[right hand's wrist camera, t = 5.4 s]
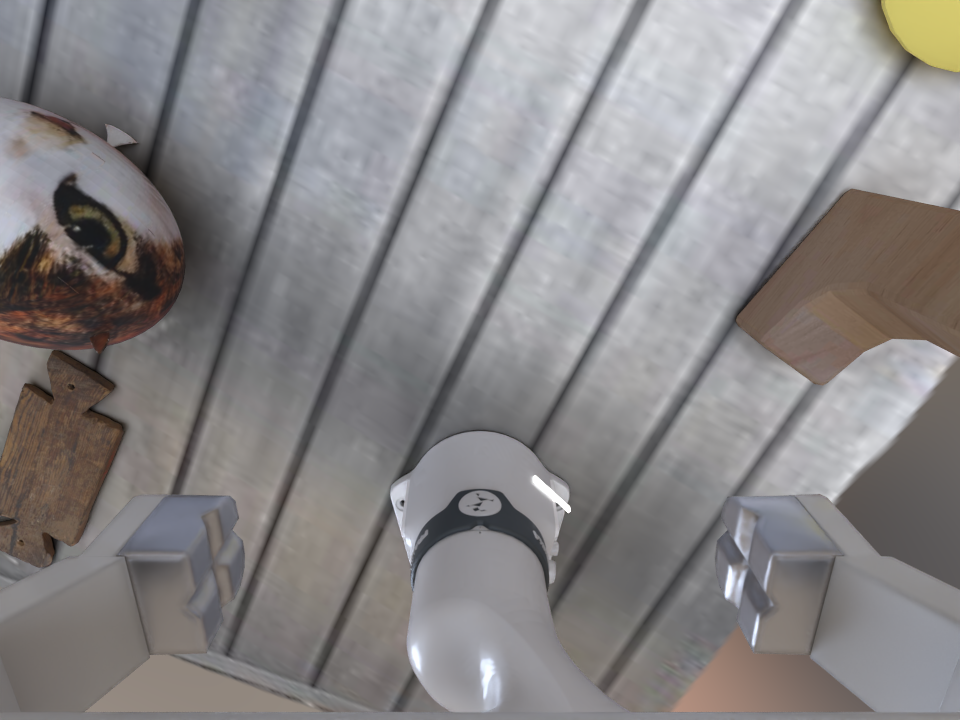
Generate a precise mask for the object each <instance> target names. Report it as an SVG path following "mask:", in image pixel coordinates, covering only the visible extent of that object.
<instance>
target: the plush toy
mask: <svg viewBox="0 0 960 720" xmlns="http://www.w3.org/2000/svg"><path fill="white" fill-rule="evenodd" d="M105 125H106V129H107V142H106V141H104V140H103V139H101V138H100V137H98V136H97V135H96V134H94V133H92V132H90V131H89V130H87V129H85V128H84V127H82V126H80V125H78V124H76V123H74V122H72V121H70V120H68V119H66V118H64V117H62V116H59V115H57V114H55V113H53V112H50V111H47V110H45V109H42V108H39V107H36V106H33V105H30V104H27V103H24V102H19V101H15V100H11V99H7V98H3V97H0V339H1V340H5V341H8V342H12V343H16V344H21V345H26V346H31V347H37V348H46V349H58V350H80V349H92V348H94V349H95V350H96V351H97V352H98V353H99V354H101V353H102V352H103V350H104V349H105V348H106V346H109V345H113V344H117V343H120V342H123V341H126V340H128V339H131V338H133V337H135V336H137V335H139V334H141V333H143V332H145V331H146V330H148V329H149V328H151V327H152V326H154V325H155V324H156V323H157V322H158V321H159V320H161V319H162V318H163V317H164V316H165V315H166V314H167V312H168V311H169V310H170V309H171V307H172V306H173V304H174V302H175V301H176V299H177V297H178V295H179V292H180V290H181V287H182V283H183V279H184V273H185V252H184V246H183V241H182V237H181V234H180V231H179V228H178V225H177V223H176V221H175V219H174V216H173V214H172V212H171V210H170V209H169V207H168V205H167V204H166V202H165V200H164V199H163V197H162V196H161V194H160V193H159V192H158V190H157V189H156V188H155V186H154V185H153V184H152V183H151V182H150V180H149V179H148V178H147V177H146V176H145V175H144V174H143V173H142V172H141V171H140V169H139V168H138V167H137V166H135V165H134V164H133V163H132V162H131V161H130V160H129V159H128V158H127V157H125V156H124V155H123V154H122V153H121V152H119V151H118V150H117V149H115V148H114V147H117V146H120V145H125V144H135V143H138V142H136V141H135V140H134V139H133V138H132V137H130V136H129V135H128V134H126V133H125V132H123V131H121V130H120V129H118V128H116V127H114V126H112V125H108V124H105Z"/></svg>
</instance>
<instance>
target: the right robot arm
mask: <svg viewBox="0 0 960 720" xmlns="http://www.w3.org/2000/svg"><path fill="white" fill-rule="evenodd" d="M569 496H570V490H569V486H568V484H567V483H566V482H565V481H563V480H562V479H560V478H559V477H557V476H555V475H554V474H552V473H550V472H549V471H548V470H547V469H546V468H545V467H544V466H543V464H542V463H541V462H540V460H539V459H538V458H537V456H536V455H535V454H534V453H533V452H532V451H531V450H530V449H529V448H528V447H526V446H525V445H524V444H522V443H521V442H519V441H517V440H516V439H514V438H511V437H509V436H506V435H503V434H500V433H495V432H489V431H472V432H465V433H460V434H457V435H454V436H451V437H449V438H446V439H444V440H443V441H441V442H439V443H438V444H436V445H435V446H434V447H432V448H431V449H430V450H429V451H428V452H427V453H426V454H425V455H424V456H423V458H422V459H421V460H420V462H419V463H418V465H417V466H416V467H415V468H414V469H413V470H412V471H411V472H410V473H408V474H406V475H405V476H403V477H401V478H400V479H398V480H397V481H395V482H394V483H393V484H392V486H391V491H390V497H391V500H392V504H393V507H394V510H395V514H396V517H397V521H398V524H399V527H400V531H401V535H402V538H403V541H404V544H405V548H406V551H407V555H408V558H409V561H410V565H411V567H410V570H411V586H412V591H413V598H412V605H411V612H410V620H409V627H408V634H407V651H408V657H409V660H410V663H411V666H412V668H413V671H414V673H415V674H416V676H417V678H418V679H419V681H420V682H421V684H422V685H423V687H424V688H425V690H426V691H427V692H428V693H429V695H430V696H431V697H432V698H433V699H434V700H435V701H436V702H437V703H439V704H440V705H441V706H443V707H444V708H446V709H447V710H449V711H451V712H85V711H86V710H87V709H89V708H90V707H91V706H92V705H93V704H95V703H96V702H97V701H98V700H99V699H101V698H102V697H103V696H104V695H105V694H107V693H108V692H109V691H110V690H111V689H113V688H114V687H115V686H116V685H118V684H119V683H120V682H121V681H122V680H124V679H125V678H126V677H127V676H129V675H130V674H131V673H132V672H133V671H135V670H136V669H137V668H138V667H139V666H141V665H142V664H143V663H144V662H145V661H147V660H148V659H149V658H150V655H163V654H198V653H207V651H208V649H209V647H210V645H211V643H212V641H213V639H214V638H215V636H216V634H217V632H218V630H219V628H220V626H221V624H222V622H223V614H222V609H221V608H222V607H223V606H225V605H226V604H228V603H229V602H230V601H232V600H233V599H234V598H235V596H236V594H237V592H238V590H239V588H240V586H241V581H242V577H243V572H244V566H245V553H244V546H243V541H242V539H241V538H240V537H239V536H238V535H237V534H236V533H235V532H234V531H233V530H232V529H233V527H234V526H235V524H236V522H237V520H238V519H239V516H238V512H237V507H236V502H235V500H234V499H233V498H232V497H230V496H209V495H167V494H164V495H139V496H135V497H133V498H132V499H131V500H130V501H129V502H128V503H127V505H126V506H125V507H124V508H123V509H122V510H121V511H120V512H119V513H118V514H117V515H116V517H115V518H114V519H113V520H112V521H111V522H110V523H109V524H108V525H107V526H106V528H105V529H104V530H103V531H102V532H101V533H100V534H99V535H98V536H97V537H96V539H95V540H94V541H93V542H92V543H91V544H90V545H89V546H88V547H87V548H86V549H85V551H84V552H83V553H82V554H81V555H80V556H69V557H67V558H65V559H63V560H61V561H59V562H57V563H55V564H53V565H51V566H48V567H46V568H44V569H42V570H40V571H38V572H36V573H34V574H32V575H30V576H28V577H26V578H24V579H22V580H20V581H18V582H16V583H14V584H11V585H9V586H7V587H5V588H3V589H1V590H0V720H960V590H959V589H956V588H954V587H952V586H950V585H948V584H946V583H944V582H942V581H940V580H938V579H936V578H934V577H932V576H930V575H928V574H926V573H924V572H922V571H920V570H918V569H916V568H913V567H911V566H909V565H907V564H905V563H903V562H901V561H899V560H897V559H895V558H893V557H890V556H880V555H879V554H878V553H877V552H876V551H875V549H874V548H873V547H872V546H871V545H870V544H869V543H868V542H867V541H866V540H865V539H864V537H863V536H862V535H861V534H860V533H859V532H858V531H857V530H856V529H855V528H854V526H853V525H852V524H851V523H850V522H849V521H848V520H847V519H846V518H845V517H844V515H843V514H842V513H841V512H840V511H839V510H838V509H837V508H836V507H835V506H834V504H833V503H832V502H831V501H830V500H829V499H828V498H827V497H825V496H822V495H820V494H809V495H789V496H745V497H727V499H726V501H725V503H724V505H723V511H722V516H721V519H722V520H723V522H724V524H725V526H726V527H727V529H728V530H727V531H726V532H725V533H724V534H723V535H722V536H721V537H720V538H719V539H718V541H717V547H716V555H715V562H716V574H717V578H718V581H719V585H720V588H721V590H722V592H723V594H724V596H725V598H726V599H727V600H728V601H730V602H731V603H732V604H734V605H735V606H737V607H738V608H739V609H738V614H737V622H738V624H739V626H740V628H741V630H742V632H743V634H744V635H745V637H746V639H747V641H748V643H749V645H750V647H751V649H752V651H753V653H761V654H798V655H810V658H811V659H812V660H814V661H815V662H816V663H817V664H818V665H820V666H821V667H822V668H823V669H825V670H826V671H827V672H828V673H829V674H831V675H832V676H833V677H834V678H835V679H837V680H838V681H839V682H840V683H841V684H843V685H844V686H845V687H846V688H847V689H849V690H850V691H851V692H852V693H853V694H855V695H856V696H857V697H858V698H860V699H861V700H862V701H863V702H864V703H866V704H867V705H868V706H869V707H870V708H872V709H873V710H874V711H875V712H630V711H628V710H627V709H625V708H623V707H622V706H621V705H619V704H618V703H616V702H615V701H614V700H612V699H611V698H610V697H608V696H607V695H606V694H605V693H604V692H602V691H601V690H600V689H599V688H598V687H597V686H596V685H594V684H593V683H592V682H591V681H590V680H589V679H588V678H587V677H586V676H585V675H584V674H583V672H582V671H581V670H580V669H579V668H578V667H577V666H576V665H575V663H574V662H573V661H572V660H571V658H570V657H569V656H568V654H567V653H566V651H565V650H564V648H563V647H562V645H561V643H560V641H559V639H558V636H557V633H556V630H555V627H554V623H553V619H552V615H551V611H550V606H549V601H548V596H547V591H548V586H549V584H552V583H554V581H555V576H556V563H555V561H553V560H551V558H552V556H557V555H558V551H559V543H558V542H556V541H557V538H558V535H559V531H560V528H561V524H562V521H563V517H564V514H565V511H567V512H568V513H569V512H570V511H571V510H570V506H569V505H567V504H568V500H569ZM402 500H405V501H404V503H403V502H401V501H402ZM556 502H557V503H556Z"/></svg>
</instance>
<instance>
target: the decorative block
mask: <svg viewBox="0 0 960 720" xmlns="http://www.w3.org/2000/svg"><path fill="white" fill-rule="evenodd" d="M736 322H737V324H738V326H739V327H740V328H742V329H743V330H744V331H745V332H746V333H748V334H749V335H750V336H751V337H752V338H754V339H755V340H756V341H757V342H758V343H760V344H761V345H762V346H763V347H765V348H766V349H767V350H769V351H770V352H772V353H773V354H774V355H776V356H777V357H778V358H780V359H781V360H783V361H784V362H785V363H787V364H788V365H789V366H791V367H792V368H794V369H795V370H796V371H798V372H799V373H800V374H802V375H803V376H805V377H806V378H807V379H809V380H810V381H811V382H813V383H814V384H818V385H824V384H826V383H828V382H829V381H830V380H831V379H832V378H834V377H835V376H836V375H837V374H838V373H840V372H841V371H842V370H843V369H844V368H845V367H847V366H848V365H849V364H850V363H851V362H853V361H854V360H855V359H856V358H857V357H859V356H860V355H861V354H862V353H863V352H865V351H867V350H869V349H871V348H873V347H875V346H878V345H880V344H882V343H884V342H886V341H888V340H890V339H912V340H927V341H929V342H931V343H933V344H935V345H937V346H939V347H941V348H943V349H945V350H947V351H949V352H951V353H953V354H955V355H957V356H959V357H960V211H958V210H953V209H949V208H944V207H939V206H934V205H929V204H924V203H919V202H915V201H910V200H905V199H900V198H895V197H890V196H885V195H880V194H875V193H871V192H866V191H861V190H856V189H851V190H849V191H847V192H846V193H845V194H844V195H843V196H842V197H841V198H840V200H839V201H838V202H837V203H836V204H835V205H834V206H833V208H832V209H831V210H830V211H829V212H828V213H827V214H826V216H825V217H824V218H823V219H822V220H821V221H820V222H819V224H818V225H817V226H816V227H815V228H814V229H813V230H812V232H811V233H810V234H809V235H808V236H807V237H806V238H805V239H804V241H803V242H802V243H801V244H800V245H799V246H798V247H797V249H796V250H795V251H794V252H793V253H792V254H791V255H790V257H789V258H788V259H787V260H786V261H785V262H784V263H783V265H782V266H781V267H780V268H779V269H778V270H777V271H776V273H775V274H774V275H773V276H772V277H771V278H770V279H769V281H768V282H767V283H766V284H765V285H764V286H763V287H762V289H761V290H760V291H759V292H758V293H757V294H756V295H755V297H754V298H753V299H752V300H751V301H750V302H749V303H748V305H747V306H746V307H745V308H744V309H743V310H742V311H741V312H740V314H739V315H738V316H737V318H736Z"/></svg>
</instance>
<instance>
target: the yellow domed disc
mask: <svg viewBox="0 0 960 720" xmlns="http://www.w3.org/2000/svg"><path fill="white" fill-rule="evenodd" d="M881 5H882V9H883V12H884V15H885V17H886V20H887V23H888V26H889V28H890V31H891V32H892V34H893V35H894V36H895V37H896V39H897V40H898V41H899V43H900V44H901V45H902V47H903V48H904V49H905V50H906V51H908V52H909V53H911V54H912V55H914V56H915V57H917V58H919V59H920V60H922V61H923V62H925V63H926V64H928V65H930V66H933V67H937V68H941V69H945V70H949V71H953V72H960V0H881Z"/></svg>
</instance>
